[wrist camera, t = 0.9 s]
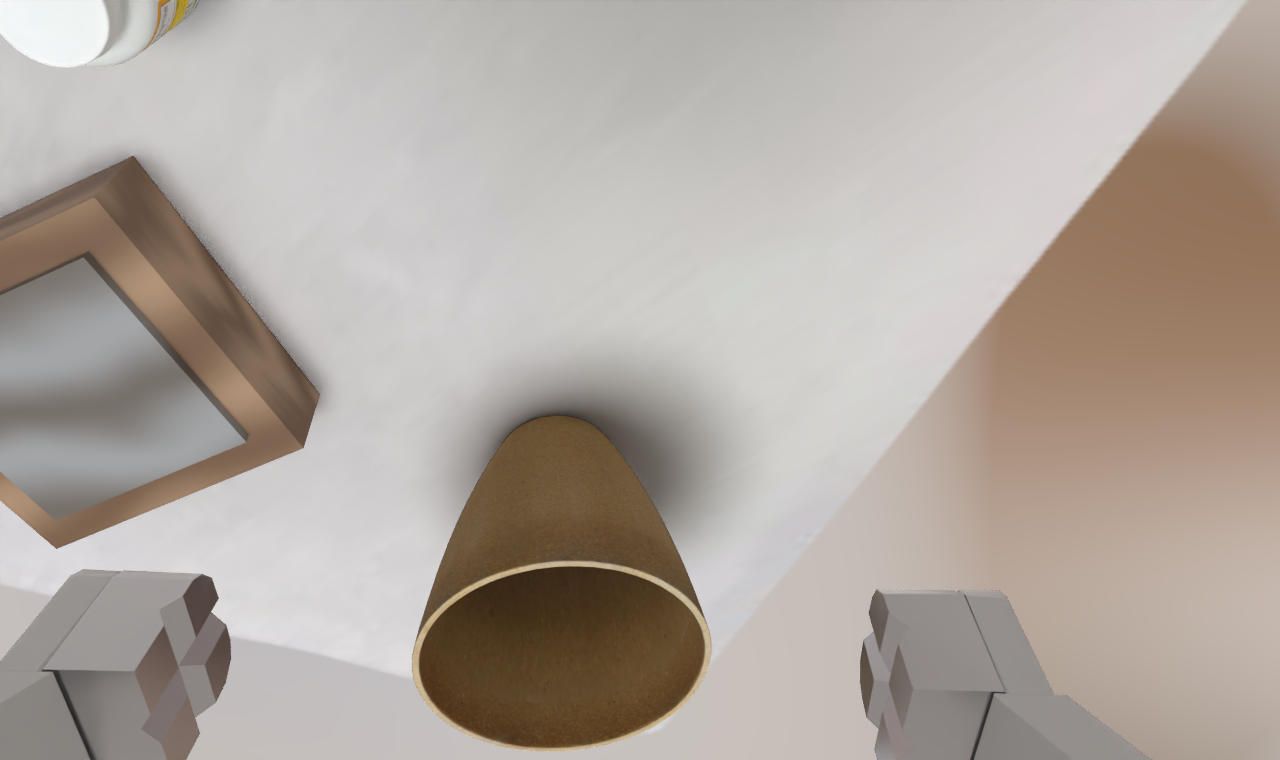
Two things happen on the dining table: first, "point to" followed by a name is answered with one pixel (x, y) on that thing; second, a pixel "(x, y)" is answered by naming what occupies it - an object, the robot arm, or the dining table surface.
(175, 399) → the walnut stand
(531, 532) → the plant pot
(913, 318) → the dining table surface
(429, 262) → the dining table surface
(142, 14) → the supplement bottle
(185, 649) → the robot arm
